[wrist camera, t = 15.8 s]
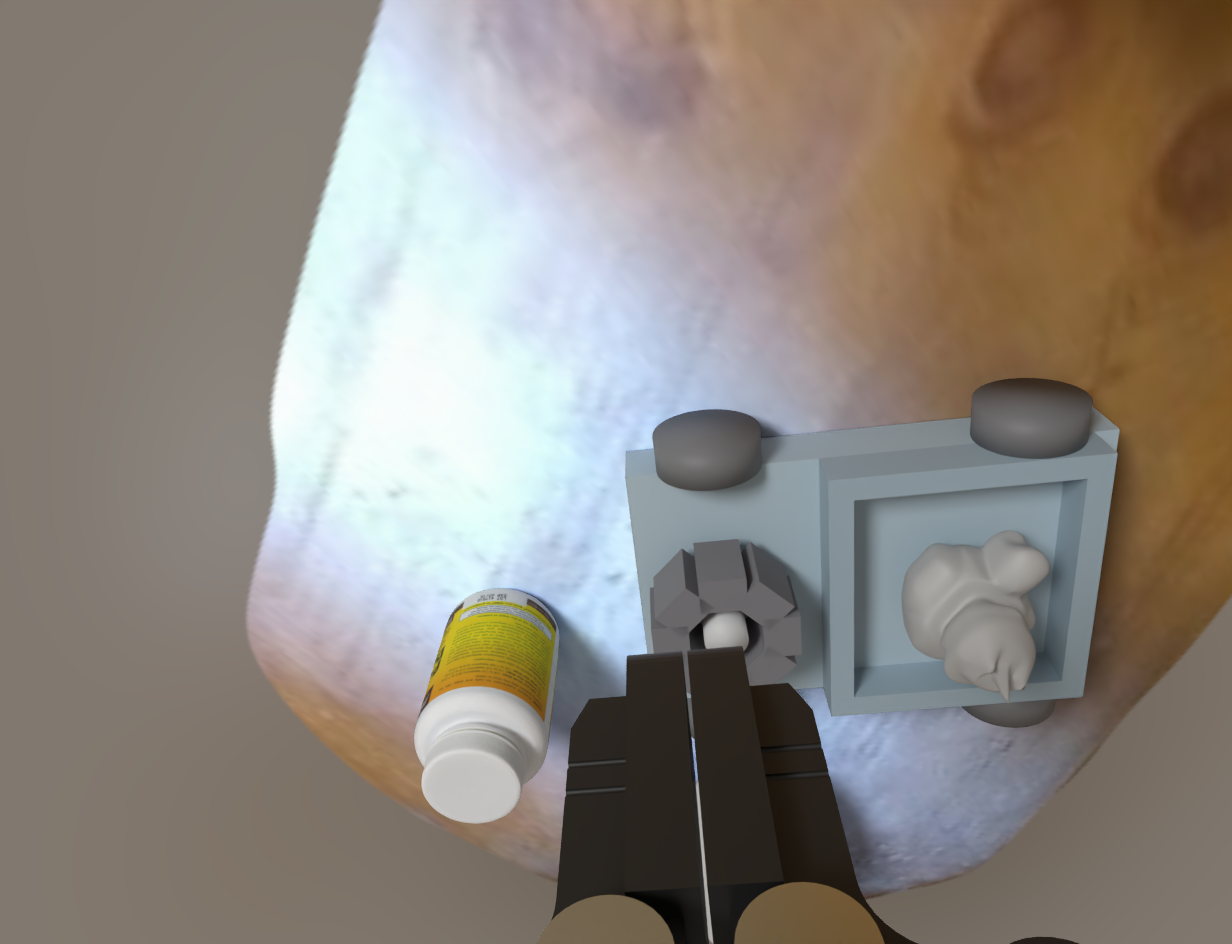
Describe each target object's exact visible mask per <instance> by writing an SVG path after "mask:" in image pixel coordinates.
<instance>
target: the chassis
mask: <svg viewBox="0 0 1232 944" xmlns="http://www.w3.org/2000/svg"><path fill="white" fill-rule="evenodd" d="M1092 404H1093V400H1092V397H1091V396H1090V395H1089V394H1088V393H1087V392H1086V391H1084V390H1082V389H1081V388H1078V387H1076V386H1074V385H1071V384H1067V383H1064V382H1059V381H1054V380H1048V379H1037V378H1016V379H1006V380H1000V381H995V382H991V383H988V384H986V385H983V386H981V387H980V388H978V389H977V390H976V391H975V392H974V393H973V395H972V408H971V417H969V418H959V419H949V420H939V421H929V422H919V423H909V424H899V425H888V426H878V427H868V428H858V429H848V430H838V431H828V432H818V433H808V434H797V435H787V436H777V437H767V438H761V431H760V425H759V423H758V422H757V420H755V419H754V418H753V417H751V416H749V415H747V414H744V413H741V412H736V411H731V410H717V409H714V410H699V411H693V412H688V413H684V414H680V415H677V416H674V417H672V418H669V419H667V420H665V421H664V422H662V423H661V424H659V425H658V426H657V427H656V428H655V430H654V432H653V446H654V449H646V450H635V451H626V467H625V478H626V486H627V494H628V502H629V510H630V518H631V526H632V534H633V542H634V550H635V558H636V566H637V574H638V582H639V589H640V597H641V605H642V613H643V621H644V629H645V637H646V645H647V653H648V654H653V653H654V650H653V642H652V634H651V614H650V588H652V587H654V582H653V577H654V576H655V575H656V574H657V573H658V572H659V571H660V570H661V569H662V568H663V567H664V566H665V565H666V564H667V563H668V562H669V561H670V560H671V559H672V558H673V557H674V556H675V555H676V554H677V553H678V552H679V551H680V550H681V549H684V550H685V551H686V552H688V553H689V554H691V555H692V556H694V546H693V543H699V542H709V541H720V540H731V539H739V544H740V549H741V551H742V550H743V549H744V548H745V547H746V546H747V545H748V544H749V543H750V542H751V543H753V544H754V545H755V546H757V547H758V548H760V549H761V550H762V551H764V552H765V553H767V554H768V555H769V556H771V557H772V558H773V559H775V560H776V561H778V562H779V563H780V564H782V565H783V566H784V569H785V572H786V576H787V575H789V577H790V581H791V584H792V588H793V591H794V595H795V599H796V602H797V606H798V609H799V613H800V616H801V646H802V655H795V659H796V663H797V665H796V666H795V667H794V668H793V669H792V670H791V671H790V672H789V673H787V674H786V675H785V676H784V677H783V678H782V679H781V680H780V681H778V682H777V683H776V684H779V683H789V684H790V685H791V686H792V687H793V688H794V689H807V688H819V687H823V688H824V692H825V695H826V699H827V702H828V706H829V709H830V713H831V716H845V715H858V714H870V713H883V712H896V711H909V710H922V709H934V708H947V707H960V706H961V707H962V708H963V709H965V710H966V711H967V712H968V713H969V714H971V715H972V716H974V717H976V718H978V719H980V720H982V721H984V722H987V723H990V724H993V725H997V726H1003V727H1013V728H1017V727H1028V726H1032V725H1035V724H1038V723H1040V722H1042V721H1044V720H1045V719H1047V718H1048V717H1049V716H1050V715H1051V713H1052V712H1053V709H1054V705H1055V699H1062V698H1075V697H1083V692H1084V685H1085V678H1086V671H1087V664H1088V657H1089V650H1090V643H1091V636H1092V629H1093V622H1094V615H1095V608H1096V601H1097V594H1098V587H1099V580H1100V573H1101V566H1102V559H1103V552H1104V545H1105V538H1106V531H1107V524H1108V517H1109V510H1110V504H1111V497H1112V490H1113V483H1114V476H1115V469H1116V462H1117V455H1118V453H1117V452H1116V451H1117V444H1118V437H1119V430H1120V429H1119V428H1118V427H1116V426H1115V425H1114V424H1113V423H1112V422H1110V421H1109V420H1108V419H1107V418H1106V417H1105V416H1103V415H1102V414H1101V413H1100V412H1099V411H1098V410H1096V409H1095V408H1094V407H1093V406H1092ZM1009 530H1010V531H1016V532H1018V533H1020V534H1022V535H1023V536H1024V538H1025V541H1026V544H1027V546H1030V547H1033V548H1036V549H1038V550H1039V551H1041V552H1042V553H1043V554H1044V555H1045V557H1046V558H1047V560H1048V562H1049V573H1048V574H1047V576H1046V577H1045V578H1044V579H1043V580H1042V581H1041V582H1040V583H1039V584H1038V585H1037V586H1035V587H1034V588H1033V589H1031V590H1030V591H1028V592H1027V596H1028V599H1029V601H1030V603H1031V605H1032V608H1033V610H1034V614H1035V619H1036V621H1035V624H1034V626H1033V628H1032V629H1031V630H1030V633H1031V635H1032V638H1033V640H1034V643H1035V649H1036V657H1035V662H1034V666H1033V669H1032V671H1031V673H1030V676H1029V678H1028V681H1027V684H1026V687H1025V689H1024V691H1023V690H1021V691H1010V698H1009V704H1008V703H1007V702H1006V701H1005V699H1004V698H1003V696H1002V695H1001V693H1000V692H990V691H986V690H984V689H981V688H979V687H977V686H976V685H974V684H961V683H958V682H955V681H953V680H951V679H950V678H949V677H948V676H947V675H946V673H945V671H944V660H939V659H934V658H931V657H929V656H926V655H925V654H923V653H921V652H920V651H918V650H917V649H916V648H915V647H914V646H913V645H912V643H911V641H910V639H909V636H908V634H907V631H906V629H905V626H904V621H903V613H902V602H901V594H902V589H903V582H904V577H905V574H906V572H907V570H908V568H909V567H910V566H911V564H912V563H913V562H914V561H915V560H916V559H917V558H918V557H919V556H920V555H921V554H922V553H923V552H924V551H925V550H926V549H927V548H928V547H929V546H930V545H932V544H935V543H942V544H947V545H950V546H953V545H971V546H976V547H983V546H984V544H985V543H986V542H987V541H988V540H989V539H990V538H991V537H992V536H994V535H995V534H997V533H999V532H1002V531H1009ZM694 557H695V556H694ZM746 617H747V615H746V614H744V613H743V612H741V611H729V612H718V613H709V614H708V615H707V616H706V617H705V618H704V619H703V620H702V621H700V622H699V623H701V624H702V625H703V634H704V642H705V647H706V649H710V648H722V647H734V646H742V647H743V651H744V650H745V649H746V648H747V646H748V643H749V637H748V631H747V626H746V621H745V618H746ZM753 686H754V685H753ZM687 701H688V710H689V720H690V729H691V736H692V737H693V738H694V726H693V714H692V703H691V695H690V694H689V693H687ZM694 739H695V738H694Z"/></svg>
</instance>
